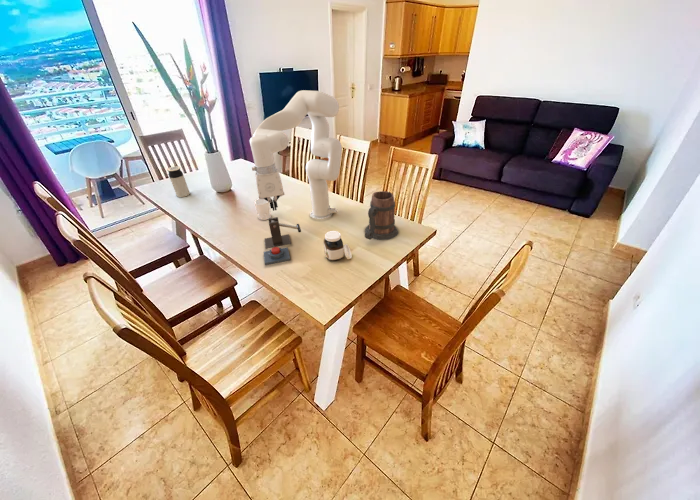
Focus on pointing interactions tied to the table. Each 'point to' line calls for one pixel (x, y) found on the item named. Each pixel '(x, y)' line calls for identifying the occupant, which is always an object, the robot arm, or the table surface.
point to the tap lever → (289, 226)
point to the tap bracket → (276, 235)
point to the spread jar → (335, 246)
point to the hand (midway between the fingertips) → (274, 209)
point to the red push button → (275, 250)
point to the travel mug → (178, 181)
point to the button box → (276, 256)
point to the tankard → (381, 217)
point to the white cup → (262, 209)
